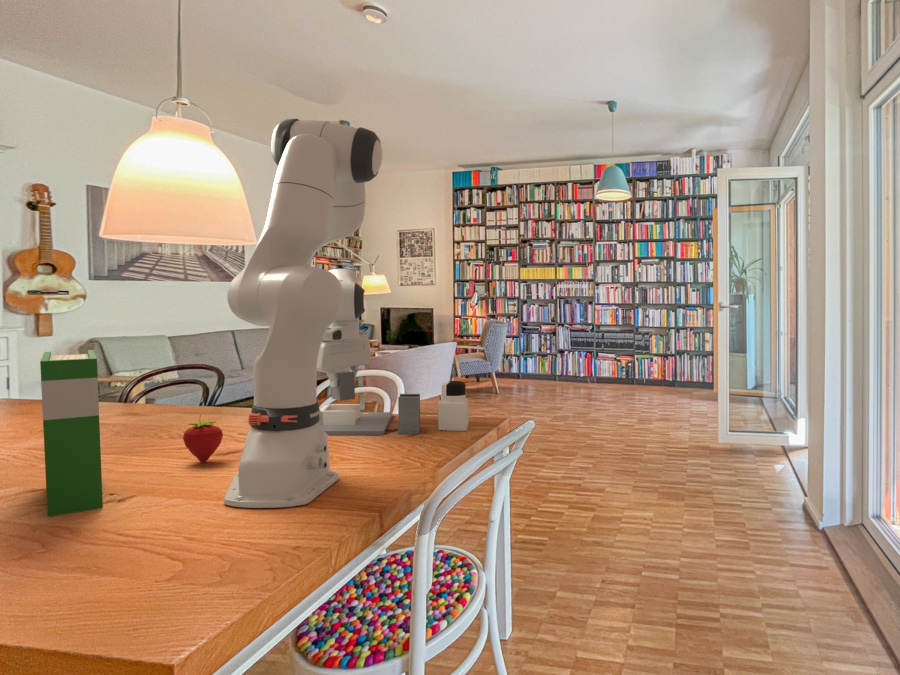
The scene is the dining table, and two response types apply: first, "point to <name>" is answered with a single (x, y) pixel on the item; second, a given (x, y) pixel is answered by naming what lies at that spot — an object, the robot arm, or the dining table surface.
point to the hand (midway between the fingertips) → (343, 384)
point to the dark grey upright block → (409, 414)
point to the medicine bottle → (453, 407)
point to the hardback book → (71, 433)
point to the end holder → (352, 420)
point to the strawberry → (202, 439)
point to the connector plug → (344, 385)
